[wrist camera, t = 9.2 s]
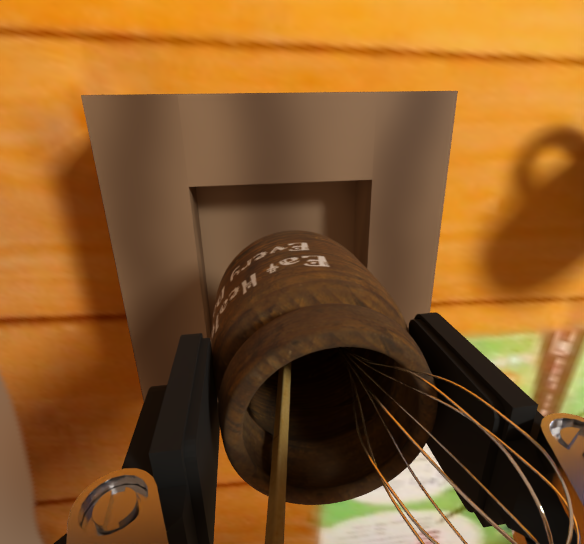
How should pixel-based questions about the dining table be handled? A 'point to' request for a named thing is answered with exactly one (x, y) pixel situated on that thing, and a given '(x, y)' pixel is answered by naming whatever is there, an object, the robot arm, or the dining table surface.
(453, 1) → the dining table surface
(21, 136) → the dining table surface
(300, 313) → the utensil holder
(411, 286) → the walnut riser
